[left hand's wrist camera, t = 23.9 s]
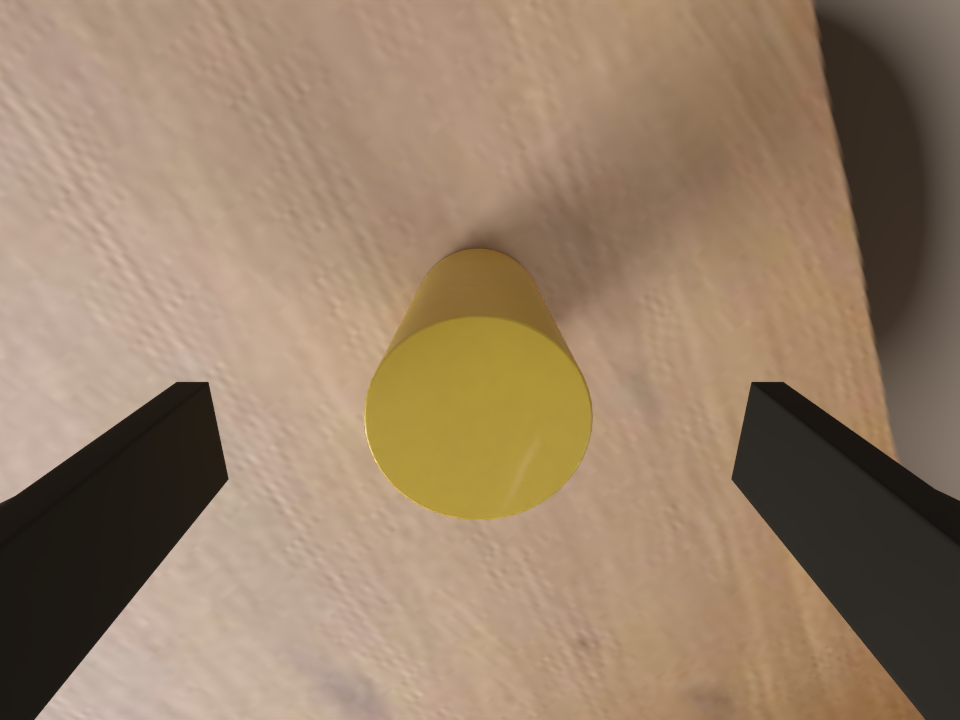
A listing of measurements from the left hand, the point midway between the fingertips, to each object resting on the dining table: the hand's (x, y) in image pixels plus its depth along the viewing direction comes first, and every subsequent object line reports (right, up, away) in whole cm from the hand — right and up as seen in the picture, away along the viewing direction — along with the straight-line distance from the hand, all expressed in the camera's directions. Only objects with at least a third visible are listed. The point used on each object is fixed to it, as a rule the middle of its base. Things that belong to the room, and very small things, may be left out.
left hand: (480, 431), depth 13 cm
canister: (0, +4, +12) cm, 13 cm away
